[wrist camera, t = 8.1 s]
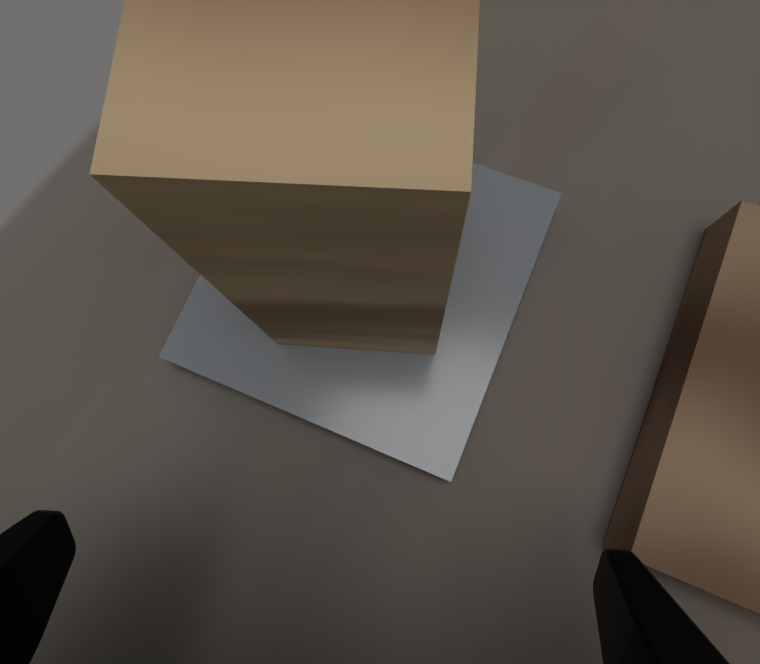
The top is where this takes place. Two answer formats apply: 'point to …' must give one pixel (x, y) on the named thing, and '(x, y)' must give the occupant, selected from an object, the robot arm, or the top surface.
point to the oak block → (301, 156)
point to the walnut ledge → (704, 429)
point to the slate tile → (390, 369)
